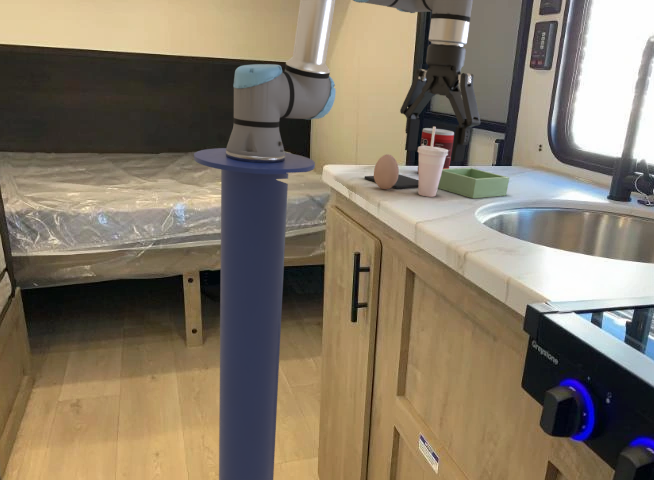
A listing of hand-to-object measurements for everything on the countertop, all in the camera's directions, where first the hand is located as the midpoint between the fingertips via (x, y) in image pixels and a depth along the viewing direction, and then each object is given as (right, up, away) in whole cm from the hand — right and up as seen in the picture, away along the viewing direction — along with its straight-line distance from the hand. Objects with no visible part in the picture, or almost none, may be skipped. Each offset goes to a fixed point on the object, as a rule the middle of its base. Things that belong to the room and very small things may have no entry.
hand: (433, 155), depth 124 cm
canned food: (+3, +2, +28) cm, 28 cm away
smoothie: (-1, -8, +3) cm, 9 cm away
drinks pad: (-7, -3, +13) cm, 15 cm away
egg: (-10, -6, +4) cm, 13 cm away
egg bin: (+10, -5, +12) cm, 16 cm away
